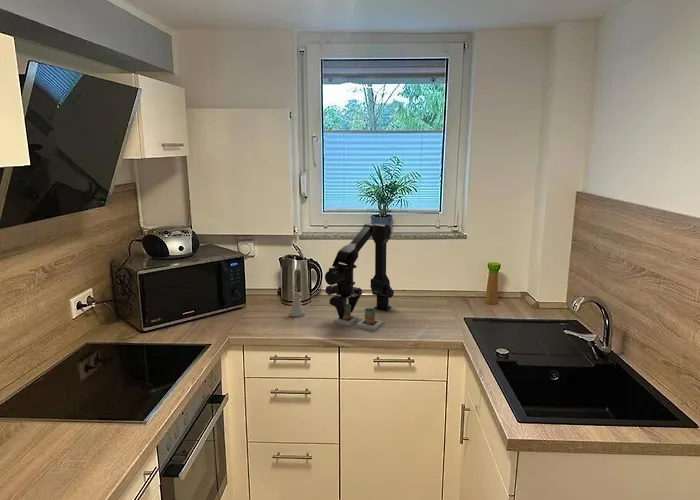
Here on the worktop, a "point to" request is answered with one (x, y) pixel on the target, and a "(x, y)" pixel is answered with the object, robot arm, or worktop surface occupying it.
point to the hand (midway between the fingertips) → (346, 315)
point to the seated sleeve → (370, 316)
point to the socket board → (358, 324)
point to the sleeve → (347, 313)
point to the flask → (296, 306)
